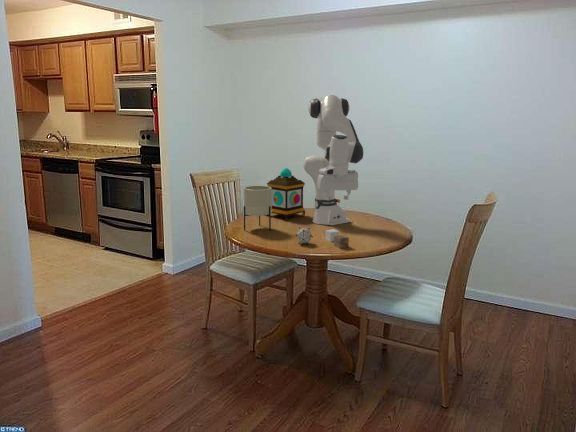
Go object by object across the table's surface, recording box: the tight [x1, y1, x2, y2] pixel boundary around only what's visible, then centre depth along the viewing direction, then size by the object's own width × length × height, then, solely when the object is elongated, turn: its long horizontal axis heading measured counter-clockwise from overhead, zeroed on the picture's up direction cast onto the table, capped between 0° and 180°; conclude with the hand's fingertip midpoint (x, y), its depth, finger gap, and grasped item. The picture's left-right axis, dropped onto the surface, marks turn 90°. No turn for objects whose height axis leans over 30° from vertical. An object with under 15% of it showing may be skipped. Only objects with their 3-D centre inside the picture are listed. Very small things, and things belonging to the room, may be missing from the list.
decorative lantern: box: [266, 167, 306, 221], centre depth 286 cm, size 20×20×30 cm
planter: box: [243, 185, 273, 232], centre depth 255 cm, size 15×16×23 cm
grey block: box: [325, 228, 340, 243], centre depth 235 cm, size 5×5×5 cm
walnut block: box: [333, 234, 350, 249], centre depth 223 cm, size 5×5×5 cm
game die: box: [294, 226, 314, 245], centre depth 228 cm, size 9×8×10 cm
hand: (337, 199), depth 219 cm, fingers open, 8 cm apart
